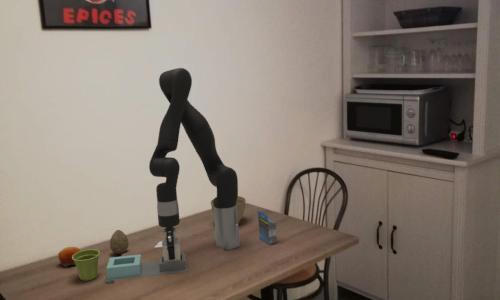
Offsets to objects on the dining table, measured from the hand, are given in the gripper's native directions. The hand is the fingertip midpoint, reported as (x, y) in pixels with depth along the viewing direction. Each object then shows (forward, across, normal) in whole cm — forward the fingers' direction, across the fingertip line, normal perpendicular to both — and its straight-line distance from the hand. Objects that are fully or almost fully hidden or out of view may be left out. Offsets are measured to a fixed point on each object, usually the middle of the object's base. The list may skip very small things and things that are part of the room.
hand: (172, 256), depth 168 cm
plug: (+4, 0, 0) cm, 4 cm away
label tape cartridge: (+5, +17, -39) cm, 43 cm away
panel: (+5, 0, +9) cm, 10 cm away
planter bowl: (+5, +43, -26) cm, 51 cm away
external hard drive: (+6, +19, +4) cm, 20 cm away
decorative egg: (+5, +20, +21) cm, 29 cm away
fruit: (+5, +15, +39) cm, 42 cm away
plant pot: (+5, +1, +30) cm, 30 cm away
